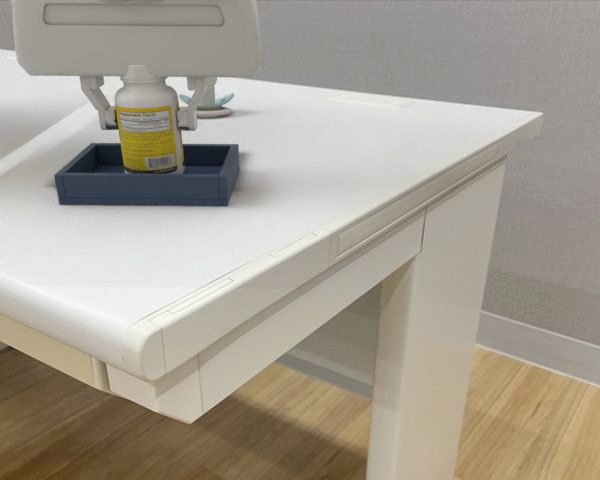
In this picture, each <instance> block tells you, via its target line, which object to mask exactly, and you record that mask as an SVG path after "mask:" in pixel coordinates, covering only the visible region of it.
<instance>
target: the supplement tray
mask: <svg viewBox="0 0 600 480" xmlns="http://www.w3.org/2000/svg"><path fill="white" fill-rule="evenodd" d="M182 144H183V154H184V167H185V168H184V172H183V173H182V174H146V173H125V170H124V164H123V156H122V150H121V143H120V142H90V143H89V144H88V145H87V146H86V147H85V148H83V150H81V151H80V152H79V153H78V154H76V156H74V157H73V158H72V159H71V160H70V161H68V163H66V164H65V165H64V166H63V167H61V169H59V170H58V171H57V172H56V173H55V174H54V175H53V178H54V182H55V188H56V194H57V198H58V199H57V200H58V205H69V206H70V205H71V206H72V205H75V206H76V205H78V206H79V205H81V206H82V205H83V206H84V205H85V206H86V205H87V206H172V207H173V206H175V207H176V206H182V207H183V206H185V207H187V206H188V207H228V206H229V203H230V202H231V201H230V200H231V197H232V195H233V191H234V188H235V185H236V181H237V179H238V176H239V173H240V149H239V148H240V147H239V143H182Z"/></svg>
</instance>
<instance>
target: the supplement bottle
mask: <svg viewBox="0 0 600 480" xmlns="http://www.w3.org/2000/svg"><path fill="white" fill-rule="evenodd" d="M168 78H169V77H155V76H152V75H150V73H149V72H148V70H147V68H146V66H145V65H129V66H128V70H127V74H126V75H125V76H119V80H120V81H121V82H122V83H123V85H122V87H120V88H118V89H117V91H116V92H115V94H114V106H115V108H116V115H117V121H118V129H119V130H118V135H119V143H121V150H122V156H123V164H124V170H125V173H146V174H182V173H183V172H184V168H185V167H184V154H183V144H184V143H183V134H182V131H179V130H178V125H177V124H178V122H179V121H178V119H177V112H176V111H177V110H178V109H179V107H180V104H179V94H178V92H177V91H176V89H175V88H174V87H172V86H170V85H168V84H167V82H166V80H167V79H168Z"/></svg>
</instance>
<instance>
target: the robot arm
mask: <svg viewBox="0 0 600 480" xmlns="http://www.w3.org/2000/svg"><path fill="white" fill-rule="evenodd" d="M8 1H9V3H10V4H11V7H12V12H11V13H12V31H13V43H14V51H15V56H16V61H17V63H18V65H19V66H20V67H21V68H22V70H24V72H25V73H26V74H27V75H29V76H32V77H33V76H35V77H36V76H37V77H40V76H41V77H79V82H80V83H79V84H80V90H81V91H82V93H83V94H84V96H85V97H86V98H87V99H88V101H89V102H90V104H91V105H92V106H93V108H94V109H95V110H96V111H97V112H98V113H97V114H98V120H99V121H98V122H99V127H100V130H102V131H119V129H118V121H117V115H116V108H115V105H111V103H110V102H109V100H108V99H107V97H106V96H105V94H104V93H103V91H102V90H101V88H102V87H103V86H104V85H105V78H104V77H120V76H125V75H126V74H127V70H128V66H129V65H145V66H146V68H147V70H148V72H149V73H150V75H152V76H155V77H168V78H186V83H187V90H188V91H190V92H191V91H194V92H193V93H192V96H191V100H190V102H189V105H188V104H187V106H179V109H178V110H177V111H176V112H177V119H178V121H179V122H178V124H177V125H178V130H179V131H181V132H182V131H184V132H196V130H197V128H198V116H197V111H196V108H197V107H198V105H199V103H200V101H201V99H202V97H203V95H204V93H205V91H206V89H207V87H208V86H207V77H217V78H244V79H245V78H253V77H255V76H256V75H257V74H258V73H259V71H260V70H261V69H262V67H263V65H264V46H263V44H264V43H263V35H262V26H261V19H260V13H259V8H258V3H257V0H8Z"/></svg>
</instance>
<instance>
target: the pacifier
mask: <svg viewBox="0 0 600 480" xmlns="http://www.w3.org/2000/svg"><path fill="white" fill-rule="evenodd" d="M217 82H218V77H207V86H208V87H207V89H206V91H205V93H204V95H203V97H202V99H201V101H200V103H199V105H198V107H197V108H196V111H197V117H219V116H225V115H226V116H227V115H229V114H231V113H232V112H233V110H232V109H231V108H229V107H226V106H224V105H226V104H228V103H230V101H232V100H233V99H234V98H235V93H230V94H226V95H224V96H222V97H219V98H216V91H215V85H216V84H217ZM191 98H192V96H188V95H185V94H180V93H179V94H178V99H180V100H181V101H182V102H183V103H185V104H186V105H187V106H188V105H189V102H190V100H191Z"/></svg>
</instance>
